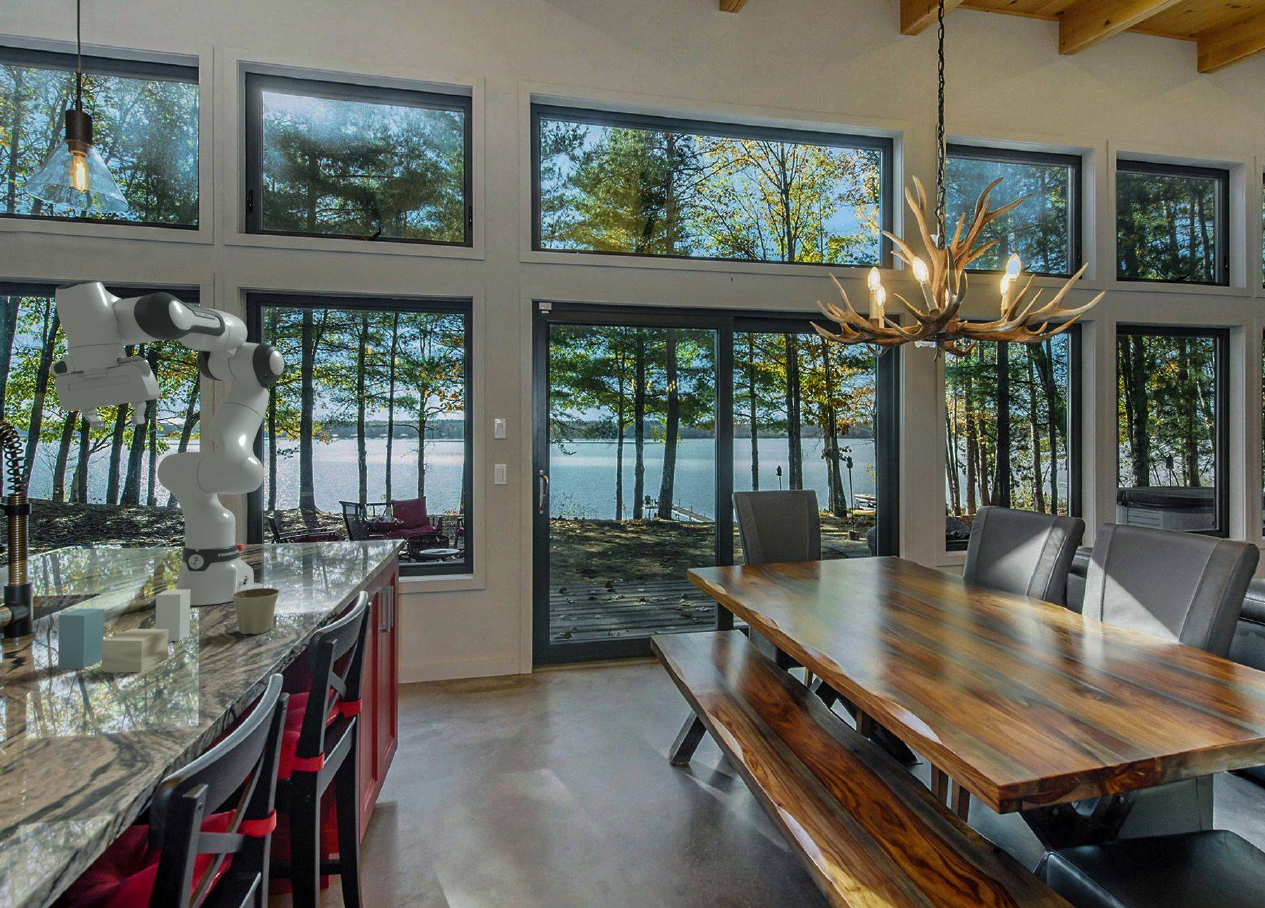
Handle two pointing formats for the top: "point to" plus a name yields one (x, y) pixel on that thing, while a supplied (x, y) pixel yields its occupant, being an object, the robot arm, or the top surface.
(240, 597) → the flower pot
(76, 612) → the teal block
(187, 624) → the white block
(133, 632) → the birch block
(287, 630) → the top surface
